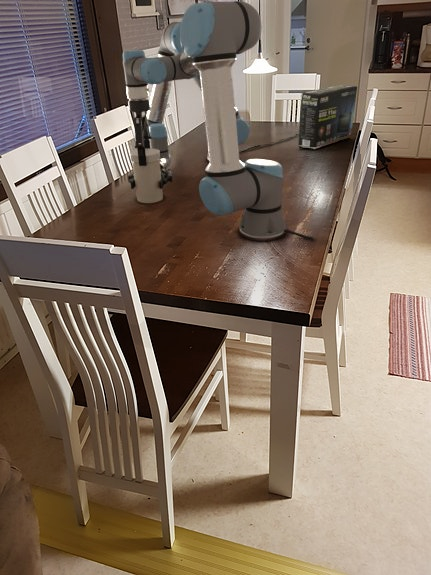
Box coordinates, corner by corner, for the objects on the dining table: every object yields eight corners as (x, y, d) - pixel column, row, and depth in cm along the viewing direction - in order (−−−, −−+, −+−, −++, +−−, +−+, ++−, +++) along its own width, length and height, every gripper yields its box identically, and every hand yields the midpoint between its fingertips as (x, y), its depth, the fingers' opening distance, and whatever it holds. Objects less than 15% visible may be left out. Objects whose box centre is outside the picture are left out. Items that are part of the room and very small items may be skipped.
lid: (128, 157, 175) (127, 150, 174) (155, 153, 179) (155, 147, 178) (134, 164, 167) (133, 157, 165) (163, 160, 170) (163, 153, 169)
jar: (139, 204, 175) (133, 159, 166) (135, 196, 184) (129, 152, 175) (165, 201, 178) (161, 156, 169) (160, 192, 186) (156, 149, 177)
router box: (314, 151, 231) (318, 94, 217) (296, 148, 237) (299, 92, 224) (352, 138, 251) (358, 85, 238) (335, 135, 258) (340, 83, 245)
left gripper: (184, 176, 194) (176, 194, 175) (131, 177, 196) (118, 195, 177) (183, 158, 190) (175, 175, 171) (129, 159, 192) (115, 176, 173)
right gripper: (143, 104, 152) (150, 170, 163) (153, 93, 172) (159, 152, 183) (121, 105, 152) (130, 170, 163) (133, 94, 172) (140, 153, 183)
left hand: (146, 185), depth 174 cm, fingers closed on jar, 10 cm apart
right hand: (145, 161), depth 173 cm, fingers closed on lid, 11 cm apart
